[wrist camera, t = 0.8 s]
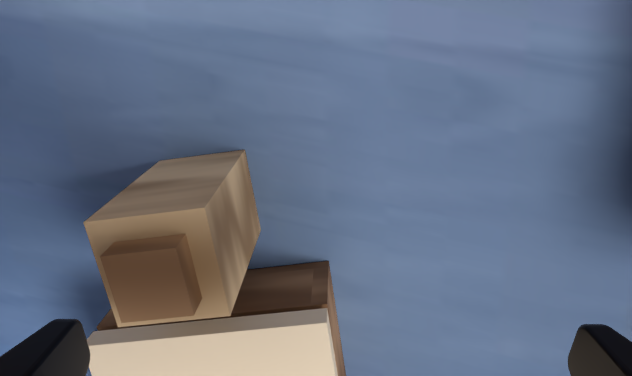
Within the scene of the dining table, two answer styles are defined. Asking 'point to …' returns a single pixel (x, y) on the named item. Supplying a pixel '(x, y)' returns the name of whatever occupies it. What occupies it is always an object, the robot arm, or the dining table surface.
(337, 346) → the wooden box
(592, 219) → the dining table surface
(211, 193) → the wooden block
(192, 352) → the lid
